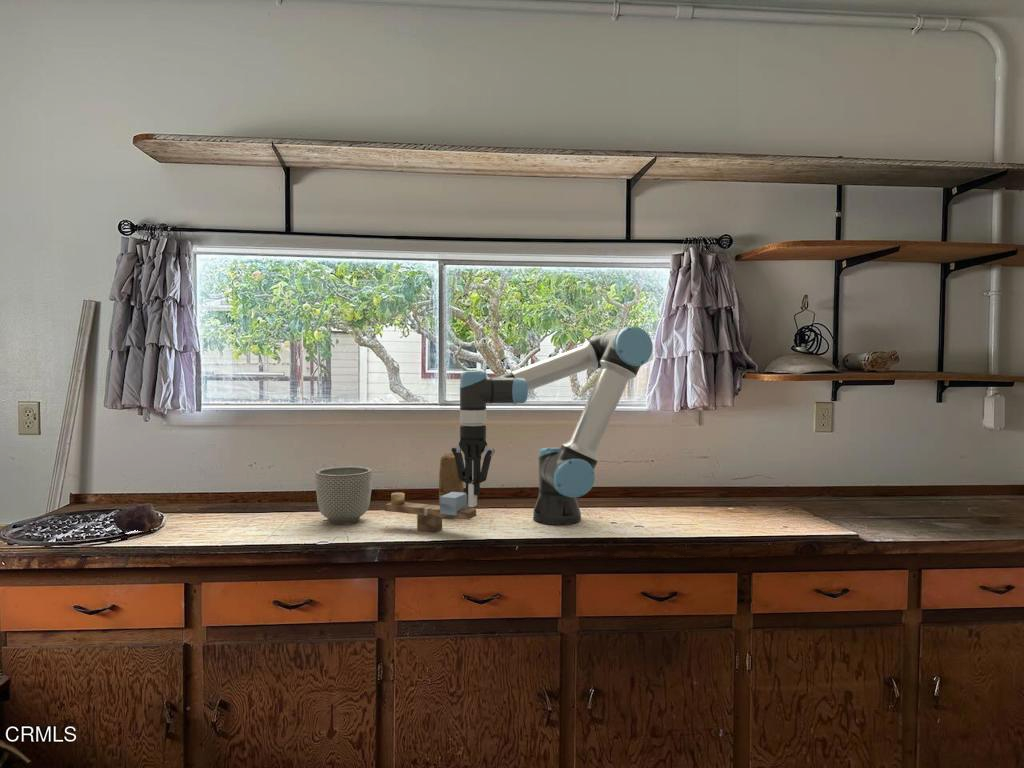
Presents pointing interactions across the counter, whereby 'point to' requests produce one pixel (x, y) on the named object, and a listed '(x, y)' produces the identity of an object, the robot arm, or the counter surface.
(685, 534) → the counter surface
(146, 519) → the rock
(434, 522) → the beam
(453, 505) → the rider
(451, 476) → the block
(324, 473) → the planter
